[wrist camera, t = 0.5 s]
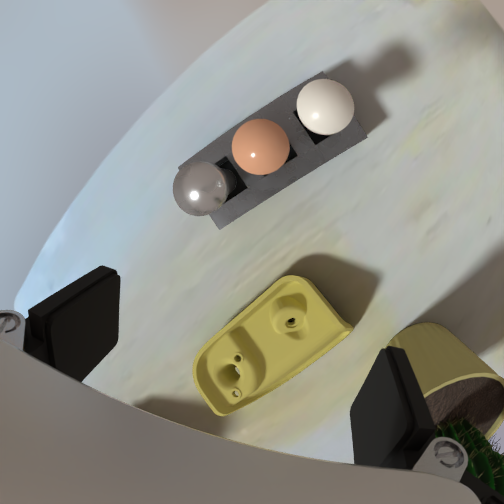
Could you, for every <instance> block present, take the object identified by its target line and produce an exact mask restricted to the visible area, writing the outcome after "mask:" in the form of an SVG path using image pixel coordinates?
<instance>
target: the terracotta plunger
mask: <svg viewBox="0 0 504 504" xmlns="http://www.w3.org/2000/svg"><path fill="white" fill-rule="evenodd" d="M289 151H290V144H289V139H288V137H287V135H286V133H285V132H284V130H283V129H282V128H281V127H280V126H279V125H278V124H276V123H275V122H273V121H270V120H267V119H254V120H250V121H248V122H246V123H244V124H243V125H242V126H241V127H240V128H239V129H238V130H237V131H236V133H235V135H234V137H233V141H232V153H233V156H234V159H235V161H236V162H237V164H238V165H239V166H240V167H241V168H242V169H244V170H245V171H247V172H249V173H251V174H256V175H265V174H269V173H272V172H274V171H276V170H278V169H279V168H281V167H282V166H283V165H284V163H285V162H286V160H287V158H288V156H289Z"/></svg>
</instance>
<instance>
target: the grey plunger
mask: <svg viewBox="0 0 504 504" xmlns="http://www.w3.org/2000/svg"><path fill="white" fill-rule="evenodd" d="M235 187H236V177H235V175H234V173H233V172H232V171H230V170H228V169H221V168H220V167H218V166H217V165H215V164H213V163H210V162H194V163H190V164H188V165H186V166H184V167H183V168H182V169H181V170H180V171H179V172H178V173H177V175H176V177H175V179H174V183H173V194H174V198H175V200H176V202H177V204H178V205H179V207H180V208H181V209H182V210H183V211H185V212H186V213H188V214H190V215H194V216H204V215H208V214H210V213H212V212H214V211H215V210H217V209H218V208H220V207H221V206H222V205H223V204H224V202H225V201H226V199H227V196H228V194H229V193H231V192H232V191H233V190H234V189H235Z"/></svg>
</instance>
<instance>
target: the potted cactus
mask: <svg viewBox="0 0 504 504" xmlns="http://www.w3.org/2000/svg"><path fill="white" fill-rule="evenodd" d="M387 346H393V347H398V348H403V349H404V350H405V352H406V354H407V357H408V359H409V361H410V364H411V366H412V369H413V371H414V373H415V376H416V378H417V381H418V383H419V386H420V388H421V391H422V393H423V396H424V398H425V401H426V403H427V406H428V409H429V411H430V414H431V417H432V419H433V422H434V425H435V428H436V430H435V431H434V433H435V436H436V438H438V437H447V438H451V439H453V440H455V441H457V442H458V443H459V444H461V445H462V447H463V448H464V449H465V451H466V453H467V455H468V464H467V467H466V469H465V470H466V471H468V472H469V473H471V474H472V475H473V476H475V477H476V478H478V479H479V480H481V481H482V482H484V483H485V484H486V485H488V486H489V487H491V488H492V489H494V490H495V491H497V492H498V493H500V494H501V495H502V496H503V497H504V455H502V454H504V453H502V454H501V455H500V454H499V453H498V451H499V450H498V451H497V452H496V450H495V451H493V449H492V446H493V445H491V444H490V443H489V442H488V440H489V439H490V438H491V436H493V434H494V433H495V432H496V431H497V429H498V428H499V427H500V425H501V424H502V422H503V420H504V379H503V378H502V377H500V376H498V374H497V373H496V372H495V371H494V370H492V369H491V368H490V367H489V366H488V365H487V364H486V363H485V362H484V361H482V360H481V359H480V358H479V357H478V356H477V355H476V354H475V353H474V352H472V351H471V350H470V349H469V348H468V347H467V346H466V345H465V344H463V343H462V342H461V341H460V340H459V339H458V338H457V337H455V336H454V335H453V334H452V333H451V332H450V331H449V330H447V329H446V328H445V327H443V326H441V325H439V324H436V323H431V322H424V323H418V324H415V325H412V326H409V327H407V328H405V329H404V330H402V331H401V332H399V333H398V334H397V335H396V336H395V337H394V338H393V339H392V340H391V341H390V342H389V343H388V345H387ZM387 346H386V347H387ZM385 349H386V348H385ZM492 444H493V442H492ZM496 448H497V447H496Z"/></svg>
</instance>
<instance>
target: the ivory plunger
mask: <svg viewBox="0 0 504 504" xmlns="http://www.w3.org/2000/svg"><path fill="white" fill-rule="evenodd" d="M297 111H298V116H299V118H300V120H301V122H302V123H303V125H304V126H305V127H306V128H308V129H309V130H310V131H312V132H314V133H317V134H320V135H332V134H335V133H338V132H340V131H341V130H342V129H344V128H345V127H346V126H347V125H348V124H349V123H350V121H351V120H352V117H353V114H354V102H353V98H352V96H351V94H350V93H349V91H348V90H347V89H346V88H345V87H344V86H343V85H342V84H340V83H338V82H336V81H334V80H330V79H318V80H314V81H312V82H310V83H308V84H307V85H305V86H304V87H303V89H302V90H301V91H300V93H299V95H298V99H297Z"/></svg>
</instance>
